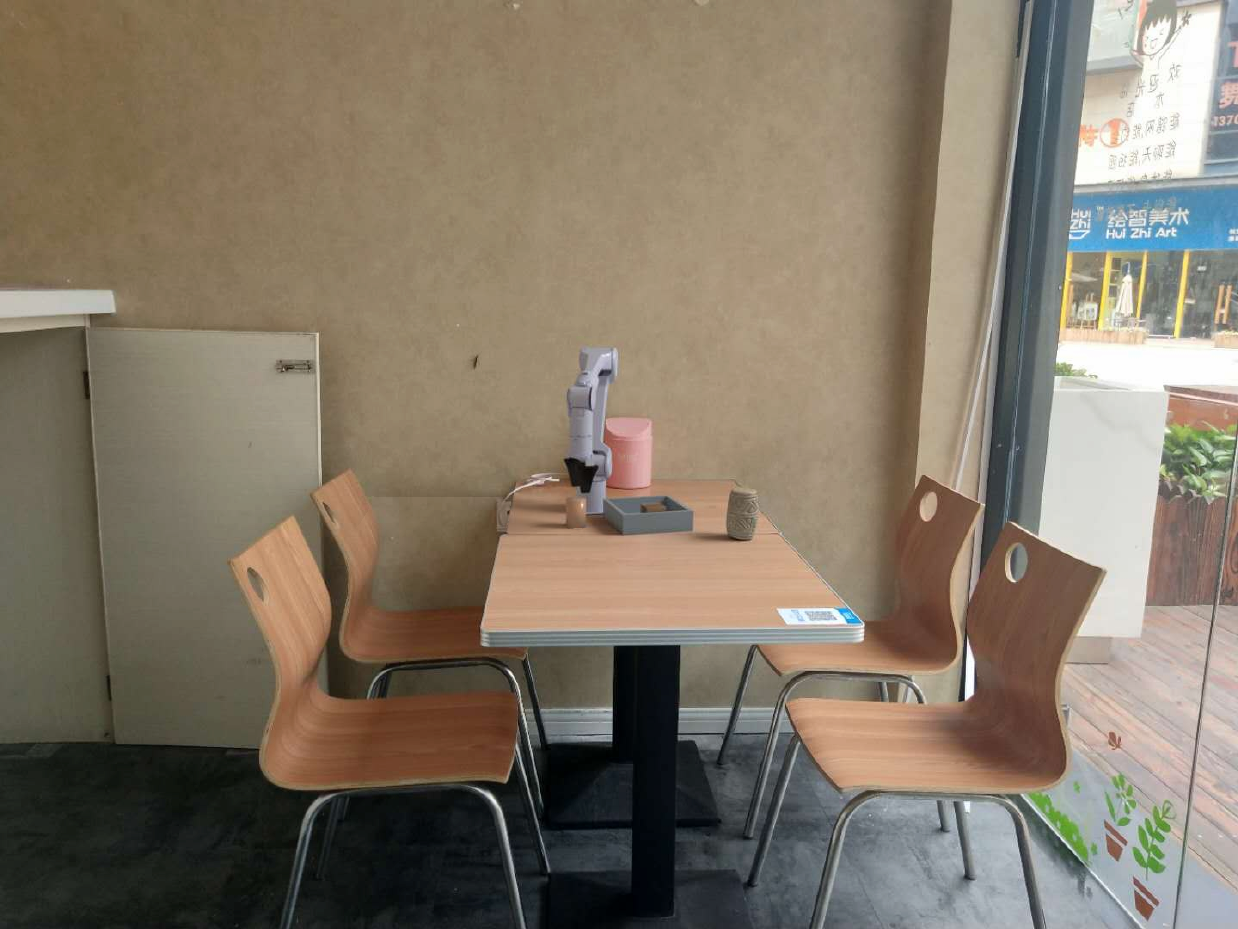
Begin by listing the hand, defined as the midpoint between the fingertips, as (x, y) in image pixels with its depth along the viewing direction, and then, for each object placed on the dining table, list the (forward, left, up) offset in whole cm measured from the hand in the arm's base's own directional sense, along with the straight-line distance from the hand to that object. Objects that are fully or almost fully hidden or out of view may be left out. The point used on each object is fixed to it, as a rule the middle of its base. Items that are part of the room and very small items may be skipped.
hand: (580, 489), depth 224 cm
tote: (+2, +17, -9) cm, 19 cm away
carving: (+20, +35, -10) cm, 41 cm away
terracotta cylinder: (0, -1, -10) cm, 10 cm away
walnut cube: (+7, +17, -8) cm, 20 cm away
